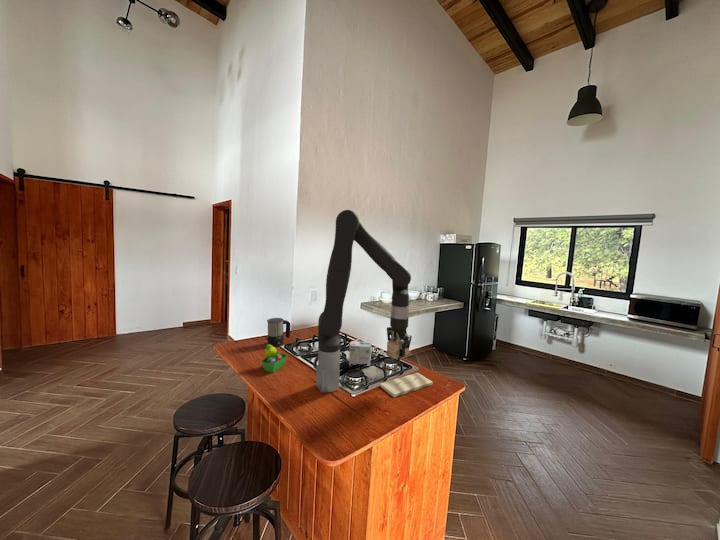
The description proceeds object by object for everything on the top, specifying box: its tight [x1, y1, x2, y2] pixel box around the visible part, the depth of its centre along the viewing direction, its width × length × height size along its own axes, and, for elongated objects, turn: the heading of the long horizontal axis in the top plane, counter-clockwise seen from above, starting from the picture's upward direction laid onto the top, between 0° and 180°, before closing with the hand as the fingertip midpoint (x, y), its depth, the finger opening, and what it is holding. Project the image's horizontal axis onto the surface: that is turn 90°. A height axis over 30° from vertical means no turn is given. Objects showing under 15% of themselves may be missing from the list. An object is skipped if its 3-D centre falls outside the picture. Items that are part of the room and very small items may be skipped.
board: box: [379, 372, 434, 398], centre depth 128 cm, size 22×10×1 cm, turn 122°
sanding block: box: [386, 340, 410, 360], centre depth 123 cm, size 8×5×6 cm, turn 122°
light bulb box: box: [348, 340, 372, 367], centre depth 147 cm, size 11×7×11 cm, turn 84°
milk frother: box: [266, 317, 292, 348], centre depth 172 cm, size 14×16×15 cm
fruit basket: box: [260, 343, 288, 373], centre depth 140 cm, size 11×9×11 cm
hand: (397, 354), depth 123 cm, fingers closed on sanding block, 5 cm apart
